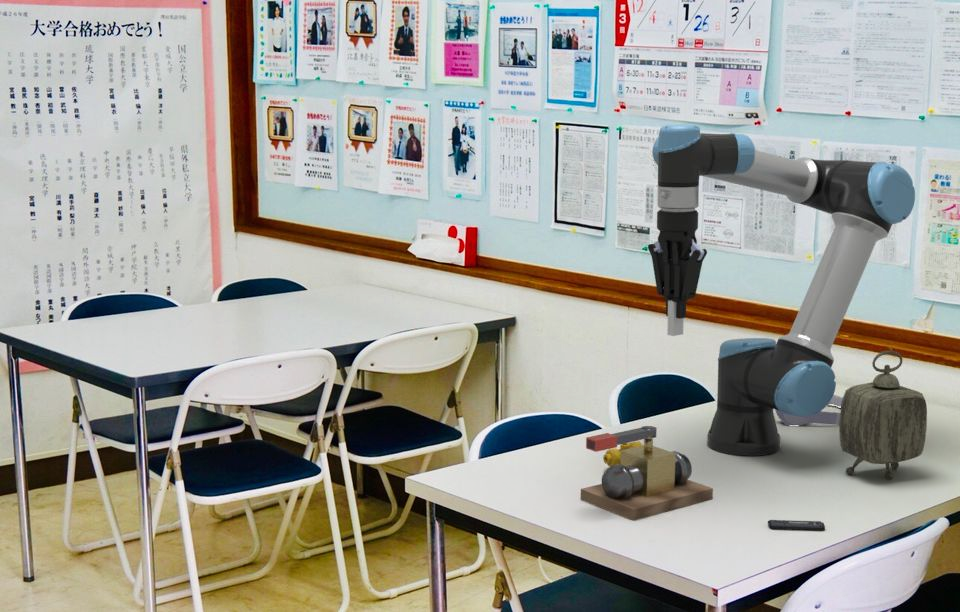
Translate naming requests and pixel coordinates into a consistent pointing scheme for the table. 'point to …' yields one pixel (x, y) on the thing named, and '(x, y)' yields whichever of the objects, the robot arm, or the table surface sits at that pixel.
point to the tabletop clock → (882, 421)
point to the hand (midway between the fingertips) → (675, 334)
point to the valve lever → (619, 438)
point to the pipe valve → (646, 472)
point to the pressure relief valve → (618, 453)
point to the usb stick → (796, 525)
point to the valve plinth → (648, 500)
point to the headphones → (816, 418)
